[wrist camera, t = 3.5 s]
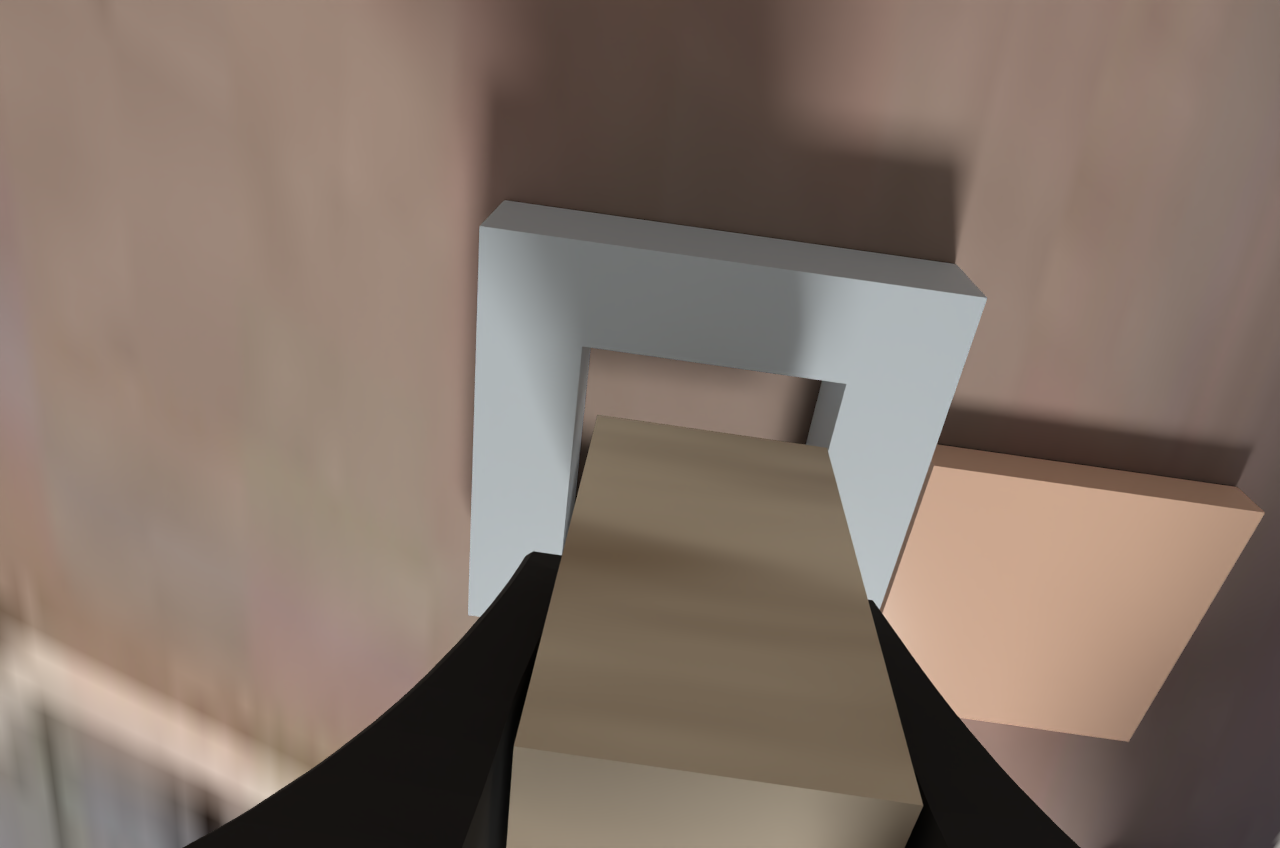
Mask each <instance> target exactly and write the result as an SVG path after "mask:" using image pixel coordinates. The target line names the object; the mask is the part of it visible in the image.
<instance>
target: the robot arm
mask: <svg viewBox="0 0 1280 848" xmlns="http://www.w3.org/2000/svg"><path fill="white" fill-rule="evenodd" d="M561 558H562V555H556V554H549V553H542V552H535V551H533V552H531V553H529V554H528V555H526V556H525V557H524V559H523V561H522V562H521V564H520V565H519V567H518V568H517V570H516V571H515V573H514V574H513V576H512V577H511V579H510V580H509V581H508V583H507V584H506V585H505V587H504V588H503V589H502V591H501V592H500V593H499V595H498V596H497V597H496V598H495V600H494V601H493V602H492V604H491V605H490V606H489V607H488V608H487V610H486V611H485V612H484V613H483V614H482V615H481V617H480V618H479V619H478V620H477V621H476V622H475V624H474V625H473V626H472V627H471V628H470V629H469V631H468V632H467V633H466V634H465V635H464V636H463V637H462V639H461V640H460V641H459V642H458V643H457V644H456V645H455V646H454V647H453V648H452V649H451V650H450V651H449V652H448V653H447V654H446V655H445V656H444V657H443V658H442V659H441V660H440V661H439V662H438V663H437V664H436V666H435V667H434V668H433V669H432V670H431V671H430V672H429V673H428V674H427V675H426V676H425V677H424V678H423V679H422V680H421V681H419V682H418V683H417V684H416V685H415V686H414V687H413V688H412V689H411V690H410V691H409V692H408V693H407V694H405V695H404V696H403V697H402V698H401V699H400V700H399V701H398V702H397V703H395V704H394V705H393V706H392V707H391V708H390V709H388V710H387V711H386V712H385V713H384V714H383V715H381V716H380V717H379V718H378V719H377V720H376V721H374V722H373V723H372V724H371V725H369V726H368V727H367V728H365V729H364V730H363V731H362V732H360V733H359V734H358V735H357V736H355V737H354V738H353V739H351V740H350V741H349V742H348V743H346V744H345V745H344V746H342V747H341V748H340V749H339V750H337V751H336V752H335V753H333V754H332V755H331V756H329V757H328V758H326V759H325V760H324V761H322V762H321V763H320V764H318V765H317V766H315V767H314V768H312V769H311V770H310V771H308V772H306V773H305V774H303V775H302V776H300V777H299V778H297V779H296V780H294V781H293V782H291V783H290V784H288V785H287V786H285V787H284V788H282V789H281V790H279V791H278V792H276V793H275V794H273V795H271V796H270V797H268V798H267V799H265V800H264V801H262V802H261V803H259V804H258V805H256V806H255V807H253V808H252V809H250V810H248V811H247V812H245V813H243V814H242V815H240V816H238V817H237V818H235V819H233V820H232V821H230V822H228V823H226V824H224V825H223V826H221V827H219V828H217V829H215V830H214V831H212V832H210V833H208V834H207V835H205V836H203V837H201V838H199V839H198V840H196V841H194V842H192V843H190V844H189V845H187V846H185V847H183V848H506V846H507V832H508V818H509V804H510V791H511V777H512V763H513V749H514V743H515V739H516V735H517V731H518V727H519V723H520V720H521V716H522V712H523V708H524V704H525V700H526V696H527V692H528V688H529V684H530V680H531V676H532V672H533V668H534V664H535V660H536V656H537V652H538V648H539V644H540V641H541V637H542V633H543V629H544V625H545V621H546V617H547V613H548V609H549V605H550V601H551V597H552V593H553V589H554V585H555V581H556V577H557V573H558V569H559V565H560V562H561ZM868 602H869V606H870V609H871V613H872V617H873V620H874V624H875V628H876V632H877V635H878V639H879V643H880V647H881V650H882V654H883V658H884V661H885V665H886V669H887V673H888V676H889V680H890V684H891V687H892V691H893V695H894V699H895V702H896V706H897V710H898V713H899V717H900V721H901V725H902V728H903V732H904V736H905V739H906V743H907V747H908V751H909V754H910V758H911V762H912V765H913V769H914V773H915V777H916V780H917V784H918V788H919V792H920V795H921V799H922V803H923V807H922V810H921V812H920V814H919V816H918V819H917V821H916V823H915V825H914V828H913V830H912V832H911V834H910V837H909V839H908V841H907V843H906V846H905V848H1080V847H1079V846H1078V845H1077V844H1076V843H1075V842H1074V841H1073V840H1072V839H1071V838H1070V837H1069V836H1067V835H1066V834H1065V833H1064V832H1063V831H1062V830H1061V829H1060V828H1059V827H1058V826H1057V825H1056V824H1055V823H1054V822H1053V821H1052V820H1051V819H1050V818H1049V817H1048V816H1047V815H1046V814H1045V813H1044V812H1043V811H1042V810H1041V809H1040V808H1039V807H1038V806H1037V805H1036V804H1035V803H1034V802H1033V801H1032V800H1031V799H1030V798H1029V796H1028V795H1027V794H1026V793H1025V792H1024V791H1023V790H1022V789H1021V788H1020V787H1019V786H1018V785H1017V784H1016V783H1015V782H1014V781H1013V780H1012V779H1011V778H1010V777H1009V775H1008V774H1007V773H1006V772H1005V771H1004V770H1003V769H1002V768H1001V767H1000V766H999V764H998V763H997V762H996V761H995V760H994V759H993V757H992V756H991V755H990V754H989V753H988V752H987V750H986V749H985V748H984V747H983V746H982V745H981V743H980V742H979V741H978V740H977V739H976V738H975V736H974V735H973V734H972V733H971V732H970V731H969V729H968V728H967V727H966V726H965V724H964V723H963V722H962V721H961V720H960V718H959V717H958V716H957V715H956V713H955V712H954V711H953V710H952V708H951V707H950V706H949V704H948V703H947V702H946V700H945V699H944V698H943V697H942V695H941V694H940V693H939V691H938V690H937V689H936V687H935V686H934V685H933V683H932V682H931V681H930V679H929V678H928V677H927V675H926V674H925V673H924V671H923V670H922V669H921V667H920V666H919V664H918V663H917V662H916V660H915V659H914V657H913V656H912V655H911V653H910V652H909V650H908V649H907V648H906V646H905V645H904V643H903V642H902V641H901V639H900V638H899V636H898V635H897V634H896V632H895V631H894V629H893V628H892V626H891V625H890V624H889V622H888V621H887V619H886V618H885V617H884V615H883V614H882V612H881V611H880V610H879V608H878V607H877V605H876V604H875V603H874V601H873V600H868Z"/></svg>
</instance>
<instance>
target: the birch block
mask: <svg viewBox="0 0 1280 848" xmlns="http://www.w3.org/2000/svg"><path fill="white" fill-rule="evenodd" d="M922 807H923V803H922V799H921V795H920V792H919V788H918V784H917V780H916V777H915V773H914V769H913V765H912V762H911V758H910V754H909V751H908V747H907V743H906V739H905V736H904V732H903V728H902V725H901V721H900V717H899V713H898V710H897V706H896V702H895V699H894V695H893V691H892V687H891V684H890V680H889V676H888V673H887V669H886V665H885V661H884V658H883V654H882V650H881V647H880V643H879V639H878V635H877V632H876V628H875V624H874V620H873V617H872V613H871V609H870V606H869V602H868V598H867V594H866V591H865V587H864V583H863V580H862V576H861V572H860V568H859V565H858V561H857V557H856V554H855V550H854V546H853V542H852V539H851V535H850V531H849V528H848V524H847V520H846V516H845V513H844V509H843V505H842V502H841V498H840V494H839V490H838V487H837V483H836V479H835V475H834V472H833V468H832V464H831V461H830V457H829V453H828V449H827V448H825V447H818V446H811V445H804V444H797V443H790V442H783V441H776V440H769V439H762V438H755V437H748V436H741V435H734V434H727V433H720V432H713V431H707V430H700V429H693V428H686V427H679V426H672V425H665V424H658V423H651V422H644V421H637V420H630V419H623V418H616V417H609V416H602V415H597V419H596V423H595V427H594V431H593V435H592V439H591V443H590V447H589V451H588V455H587V459H586V463H585V467H584V471H583V475H582V479H581V482H580V486H579V490H578V494H577V498H576V502H575V506H574V510H573V514H572V518H571V522H570V526H569V530H568V534H567V538H566V542H565V546H564V550H563V554H562V558H561V562H560V565H559V569H558V573H557V577H556V581H555V585H554V589H553V593H552V597H551V601H550V605H549V609H548V613H547V617H546V621H545V625H544V629H543V633H542V637H541V641H540V644H539V648H538V652H537V656H536V660H535V664H534V668H533V672H532V676H531V680H530V684H529V688H528V692H527V696H526V700H525V704H524V708H523V712H522V716H521V720H520V723H519V727H518V731H517V735H516V739H515V743H514V749H513V763H512V777H511V791H510V804H509V818H508V832H507V846H506V848H905V846H906V843H907V841H908V839H909V837H910V834H911V832H912V830H913V828H914V825H915V823H916V821H917V819H918V816H919V814H920V812H921V810H922Z"/></svg>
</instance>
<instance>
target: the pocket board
mask: <svg viewBox="0 0 1280 848" xmlns="http://www.w3.org/2000/svg"><path fill="white" fill-rule="evenodd" d="M986 300H987V297H986V296H985V295H984V294H983V293H982V292H981V291H980V290H979V289H978V287H977V286H976V285H975V284H974V283H973V282H972V281H971V280H970V279H969V278H968V277H967V275H966V274H965V273H964V272H963V271H962V270H961V269H960V268H959V267H958V266H957V265H956V264H952V263H944V262H937V261H930V260H923V259H916V258H909V257H902V256H895V255H888V254H881V253H874V252H867V251H860V250H853V249H846V248H839V247H832V246H825V245H817V244H810V243H803V242H796V241H789V240H782V239H775V238H768V237H761V236H754V235H747V234H740V233H733V232H726V231H719V230H712V229H705V228H698V227H690V226H683V225H676V224H669V223H662V222H655V221H648V220H641V219H634V218H627V217H620V216H613V215H606V214H599V213H592V212H585V211H578V210H571V209H563V208H556V207H549V206H542V205H535V204H528V203H521V202H514V201H507V200H504V201H503V202H502V203H501V204H500V205H499V206H498V207H497V208H496V209H495V210H494V211H493V212H492V213H491V215H490V216H489V217H488V218H487V219H486V220H485V221H484V222H483V223H482V224H481V225H480V229H479V263H478V297H477V331H476V365H475V399H474V433H473V467H472V501H471V535H470V569H469V603H468V615H471V616H478V617H481V615H482V614H483V613H484V612H485V611H486V610H487V608H488V607H489V606H490V605H491V604H492V602H493V601H494V600H495V598H496V597H497V596H498V595H499V593H500V592H501V591H502V589H503V588H504V587H505V585H506V584H507V583H508V581H509V580H510V579H511V577H512V576H513V574H514V573H515V571H516V570H517V568H518V567H519V565H520V564H521V562H522V561H523V559H524V557H525V556H526V555H528V554H529V553H531V552H533V551H535V552H542V553H549V554H556V555H562V554H563V550H564V546H565V542H566V538H567V534H568V530H569V526H570V522H571V518H572V514H573V510H574V506H575V497H576V487H577V477H578V467H579V458H580V448H581V438H582V428H583V419H584V409H585V399H586V389H587V380H588V370H589V360H590V351H591V348H597V349H604V350H611V351H618V352H625V353H632V354H639V355H646V356H653V357H660V358H667V359H674V360H681V361H688V362H695V363H703V364H710V365H717V366H724V367H731V368H738V369H745V370H752V371H759V372H766V373H773V374H780V375H787V376H794V377H801V378H808V379H815V380H822V383H821V387H820V391H819V395H818V399H817V403H816V406H815V410H814V414H813V418H812V422H811V426H810V430H809V434H808V438H807V442H806V445H811V446H818V447H825V448H827V449H828V453H829V457H830V461H831V464H832V468H833V472H834V475H835V479H836V483H837V487H838V490H839V494H840V498H841V502H842V505H843V509H844V513H845V516H846V520H847V524H848V528H849V531H850V535H851V539H852V542H853V546H854V550H855V554H856V557H857V561H858V565H859V568H860V572H861V576H862V580H863V583H864V587H865V591H866V594H867V598H868V600H873V601H874V603H875V604H876V605H877V607H878V608H879V610H880V607H881V604H882V602H883V599H884V596H885V593H886V590H887V587H888V584H889V581H890V578H891V575H892V573H893V570H894V567H895V564H896V561H897V558H898V555H899V552H900V549H901V546H902V544H903V541H904V538H905V535H906V532H907V529H908V526H909V523H910V520H911V518H912V515H913V512H914V509H915V506H916V503H917V500H918V497H919V494H920V491H921V489H922V486H923V483H924V480H925V477H926V474H927V471H928V468H929V465H930V462H931V460H932V457H933V454H934V451H935V448H936V445H937V442H938V439H939V436H940V433H941V431H942V428H943V425H944V422H945V419H946V416H947V413H948V410H949V407H950V405H951V402H952V399H953V396H954V393H955V390H956V387H957V384H958V381H959V378H960V376H961V373H962V370H963V367H964V364H965V361H966V358H967V355H968V352H969V349H970V347H971V344H972V341H973V338H974V335H975V332H976V329H977V326H978V323H979V320H980V318H981V315H982V312H983V309H984V306H985V303H986Z"/></svg>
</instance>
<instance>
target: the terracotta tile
mask: <svg viewBox="0 0 1280 848" xmlns="http://www.w3.org/2000/svg"><path fill="white" fill-rule="evenodd" d="M1264 514H1265V512H1264V511H1263V510H1262V509H1260V508H1259V507H1258V506H1257V505H1256V504H1255V503H1254V502H1253V501H1252V500H1251V499H1250V498H1249V497H1248V496H1247V495H1245V494H1244V493H1243V492H1242V491H1241V490H1240V489H1239V488H1238V487H1233V486H1226V485H1219V484H1212V483H1205V482H1198V481H1191V480H1184V479H1177V478H1170V477H1163V476H1156V475H1149V474H1142V473H1135V472H1128V471H1121V470H1114V469H1107V468H1100V467H1093V466H1086V465H1079V464H1071V463H1064V462H1057V461H1050V460H1043V459H1036V458H1029V457H1022V456H1015V455H1008V454H1001V453H994V452H987V451H980V450H973V449H966V448H959V447H952V446H945V445H938V444H937V445H936V448H935V451H934V454H933V457H932V460H931V462H930V465H929V468H928V471H927V474H926V477H925V480H924V483H923V486H922V489H921V491H920V494H919V497H918V500H917V503H916V506H915V509H914V512H913V515H912V518H911V520H910V523H909V526H908V529H907V532H906V535H905V538H904V541H903V544H902V546H901V549H900V552H899V555H898V558H897V561H896V564H895V567H894V570H893V573H892V575H891V578H890V581H889V584H888V587H887V590H886V593H885V596H884V599H883V602H882V604H881V607H880V611H881V612H882V614H883V615H884V617H885V618H886V619H887V621H888V622H889V624H890V625H891V626H892V628H893V629H894V631H895V632H896V634H897V635H898V636H899V638H900V639H901V641H902V642H903V643H904V645H905V646H906V648H907V649H908V650H909V652H910V653H911V655H912V656H913V657H914V659H915V660H916V662H917V663H918V664H919V666H920V667H921V669H922V670H923V671H924V673H925V674H926V675H927V677H928V678H929V679H930V681H931V682H932V683H933V685H934V686H935V687H936V689H937V690H938V691H939V693H940V694H941V695H942V697H943V698H944V699H945V700H946V702H947V703H948V704H949V706H950V707H951V708H952V710H953V711H954V712H955V713H956V715H957V716H958V717H959V718H965V719H972V720H979V721H986V722H993V723H1000V724H1007V725H1014V726H1021V727H1028V728H1035V729H1042V730H1049V731H1056V732H1063V733H1070V734H1077V735H1084V736H1091V737H1098V738H1105V739H1112V740H1119V741H1126V742H1129V740H1130V739H1131V737H1132V735H1133V733H1134V732H1135V730H1136V728H1137V727H1138V725H1139V723H1140V722H1141V720H1142V718H1143V717H1144V715H1145V713H1146V712H1147V710H1148V708H1149V707H1150V705H1151V703H1152V702H1153V700H1154V698H1155V697H1156V695H1157V693H1158V692H1159V690H1160V688H1161V687H1162V685H1163V683H1164V682H1165V680H1166V678H1167V676H1168V675H1169V673H1170V671H1171V670H1172V668H1173V666H1174V665H1175V663H1176V661H1177V660H1178V658H1179V656H1180V655H1181V653H1182V651H1183V650H1184V648H1185V646H1186V645H1187V643H1188V641H1189V640H1190V638H1191V636H1192V635H1193V633H1194V631H1195V630H1196V628H1197V626H1198V625H1199V623H1200V621H1201V619H1202V618H1203V616H1204V614H1205V613H1206V611H1207V609H1208V608H1209V606H1210V604H1211V603H1212V601H1213V599H1214V598H1215V596H1216V594H1217V593H1218V591H1219V589H1220V588H1221V586H1222V584H1223V583H1224V581H1225V579H1226V578H1227V576H1228V574H1229V573H1230V571H1231V569H1232V568H1233V566H1234V564H1235V563H1236V561H1237V559H1238V557H1239V556H1240V554H1241V552H1242V551H1243V549H1244V547H1245V546H1246V544H1247V542H1248V541H1249V539H1250V537H1251V536H1252V534H1253V532H1254V531H1255V529H1256V527H1257V526H1258V524H1259V522H1260V521H1261V519H1262V517H1263V516H1264Z"/></svg>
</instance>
